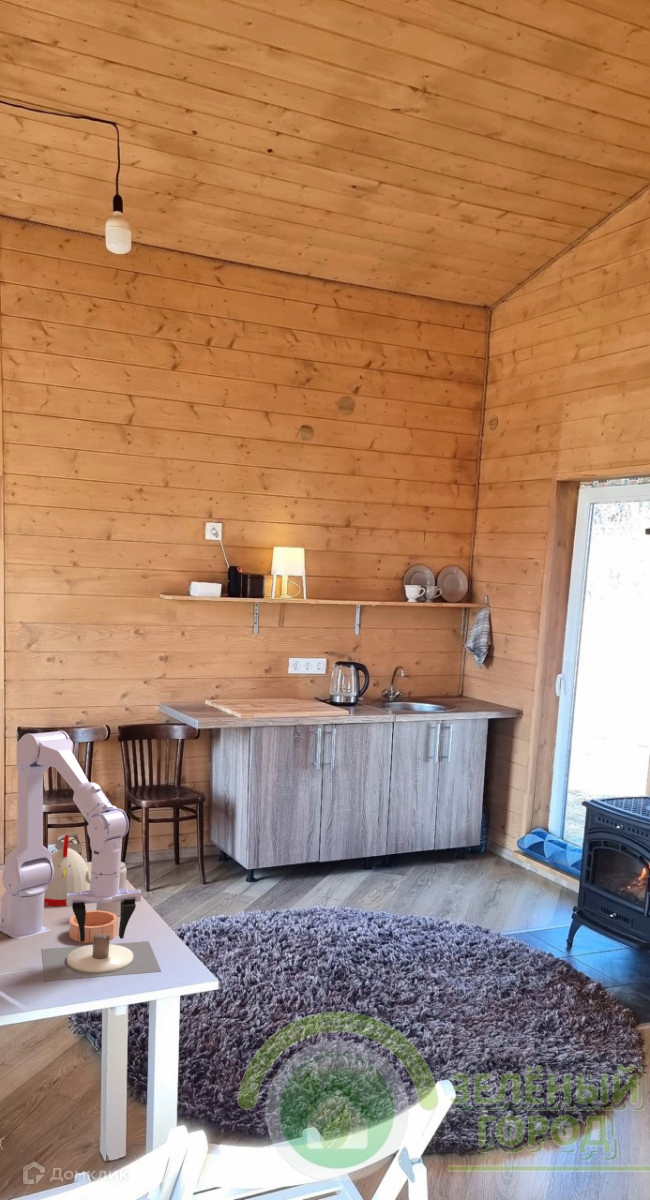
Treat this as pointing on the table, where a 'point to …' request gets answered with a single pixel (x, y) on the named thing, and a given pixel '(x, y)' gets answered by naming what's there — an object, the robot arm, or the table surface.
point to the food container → (70, 843)
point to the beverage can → (115, 906)
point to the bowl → (94, 925)
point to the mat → (60, 970)
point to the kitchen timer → (67, 876)
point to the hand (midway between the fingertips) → (101, 938)
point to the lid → (100, 956)
